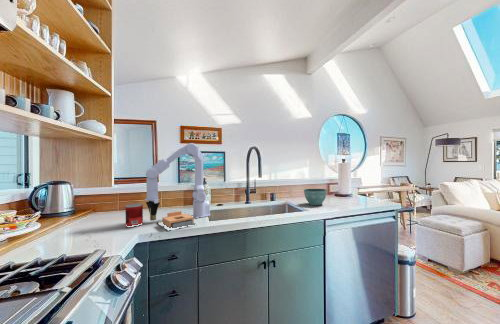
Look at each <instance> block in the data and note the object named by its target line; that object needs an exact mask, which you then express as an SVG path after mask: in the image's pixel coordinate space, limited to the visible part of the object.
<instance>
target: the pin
mask: <svg viewBox="0 0 500 324" xmlns="http://www.w3.org/2000/svg"><path fill="white" fill-rule="evenodd" d="M156 220H157V214H156V215H154V216H152V215H151V209H150V213H149V221H156Z"/></svg>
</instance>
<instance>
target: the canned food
mask: <svg viewBox="0 0 500 324" xmlns="http://www.w3.org/2000/svg"><path fill="white" fill-rule="evenodd" d="M143 215H144V212H143V203H141V202H140V203H139V202H138V203H130V204H126V205H125V226H126V225H127V226H132V225H138V224H141V223H144V219H143V218H144V216H143Z"/></svg>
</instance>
